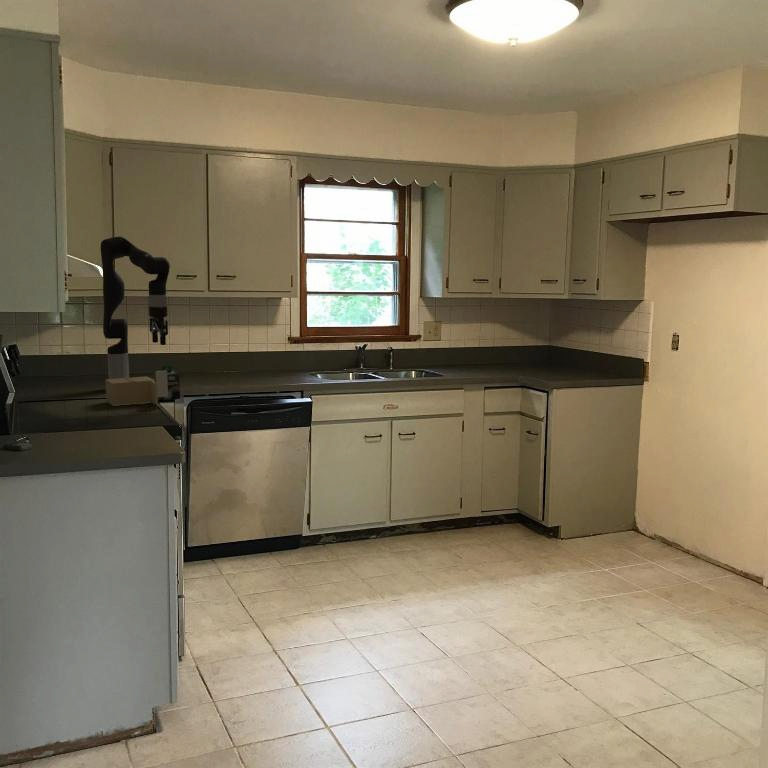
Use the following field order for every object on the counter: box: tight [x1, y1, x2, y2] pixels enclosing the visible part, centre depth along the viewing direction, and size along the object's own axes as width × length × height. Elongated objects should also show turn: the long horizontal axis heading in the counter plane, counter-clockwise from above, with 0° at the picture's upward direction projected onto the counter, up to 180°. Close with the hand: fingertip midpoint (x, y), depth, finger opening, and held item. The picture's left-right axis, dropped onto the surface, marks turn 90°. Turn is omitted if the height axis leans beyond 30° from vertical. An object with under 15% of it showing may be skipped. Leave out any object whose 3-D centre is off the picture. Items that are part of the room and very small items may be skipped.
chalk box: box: [152, 364, 181, 401], centre depth 370 cm, size 9×9×15 cm
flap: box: [151, 370, 168, 404], centre depth 353 cm, size 5×8×15 cm, turn 29°
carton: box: [105, 376, 155, 404], centre depth 358 cm, size 12×18×10 cm
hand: (159, 343), depth 349 cm, fingers open, 8 cm apart
